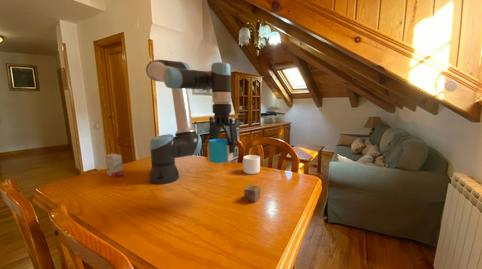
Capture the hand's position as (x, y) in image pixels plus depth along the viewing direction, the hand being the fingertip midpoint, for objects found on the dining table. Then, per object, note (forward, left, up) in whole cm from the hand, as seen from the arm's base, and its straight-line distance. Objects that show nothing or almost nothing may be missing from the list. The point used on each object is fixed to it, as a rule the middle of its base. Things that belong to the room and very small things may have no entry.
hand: (222, 158), depth 86 cm
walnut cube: (+10, +7, -17) cm, 21 cm away
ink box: (-67, -23, -17) cm, 73 cm away
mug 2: (-13, +34, -17) cm, 40 cm away
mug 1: (0, 0, -1) cm, 1 cm away
